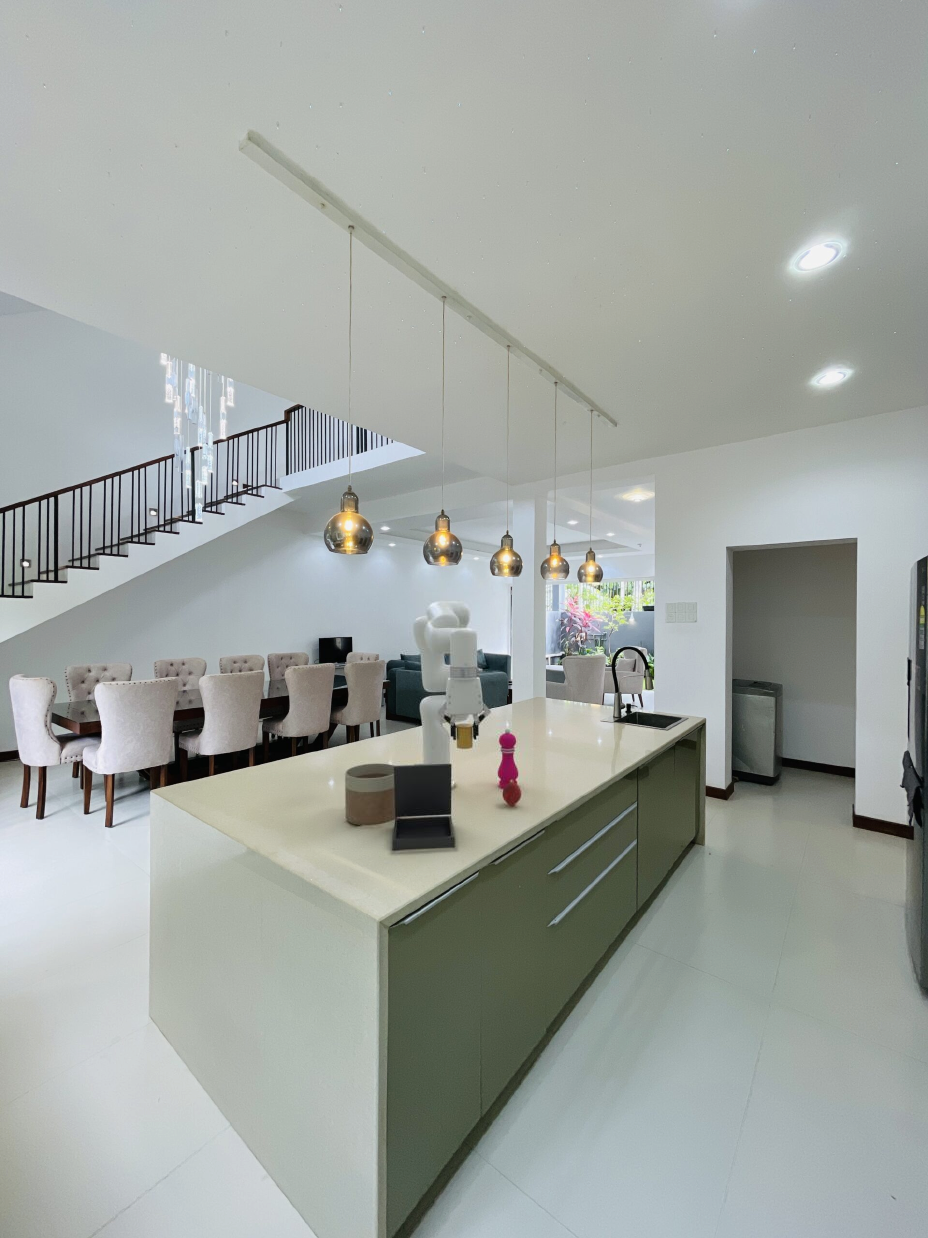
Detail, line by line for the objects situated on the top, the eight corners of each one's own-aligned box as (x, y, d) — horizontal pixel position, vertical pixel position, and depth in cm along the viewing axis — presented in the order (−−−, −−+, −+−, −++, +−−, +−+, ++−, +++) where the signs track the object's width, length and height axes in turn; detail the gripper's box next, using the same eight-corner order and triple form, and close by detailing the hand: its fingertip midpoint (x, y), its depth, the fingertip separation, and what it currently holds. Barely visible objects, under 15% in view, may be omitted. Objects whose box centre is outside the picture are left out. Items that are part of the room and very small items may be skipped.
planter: (353, 832, 142) (353, 781, 142) (339, 813, 156) (339, 767, 156) (407, 821, 149) (407, 773, 149) (389, 804, 163) (389, 760, 163)
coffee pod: (451, 747, 142) (451, 725, 142) (463, 744, 146) (463, 722, 146) (465, 750, 139) (465, 728, 139) (477, 746, 143) (477, 725, 143)
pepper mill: (496, 783, 183) (495, 727, 183) (516, 782, 183) (515, 726, 183) (499, 790, 176) (498, 731, 176) (520, 789, 176) (519, 730, 176)
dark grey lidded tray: (454, 850, 129) (454, 837, 129) (392, 853, 128) (392, 840, 128) (451, 827, 144) (451, 815, 144) (395, 830, 143) (395, 818, 143)
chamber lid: (451, 765, 140) (450, 756, 144) (393, 767, 138) (394, 758, 143) (451, 814, 144) (450, 804, 148) (395, 817, 142) (395, 807, 147)
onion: (520, 809, 157) (519, 783, 157) (501, 808, 158) (501, 782, 158) (522, 803, 162) (521, 777, 163) (503, 802, 164) (503, 777, 164)
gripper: (492, 671, 147) (493, 735, 147) (432, 672, 146) (433, 736, 146) (496, 674, 140) (496, 741, 139) (433, 675, 138) (434, 743, 138)
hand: (464, 738), depth 143 cm, fingers closed on coffee pod, 5 cm apart
